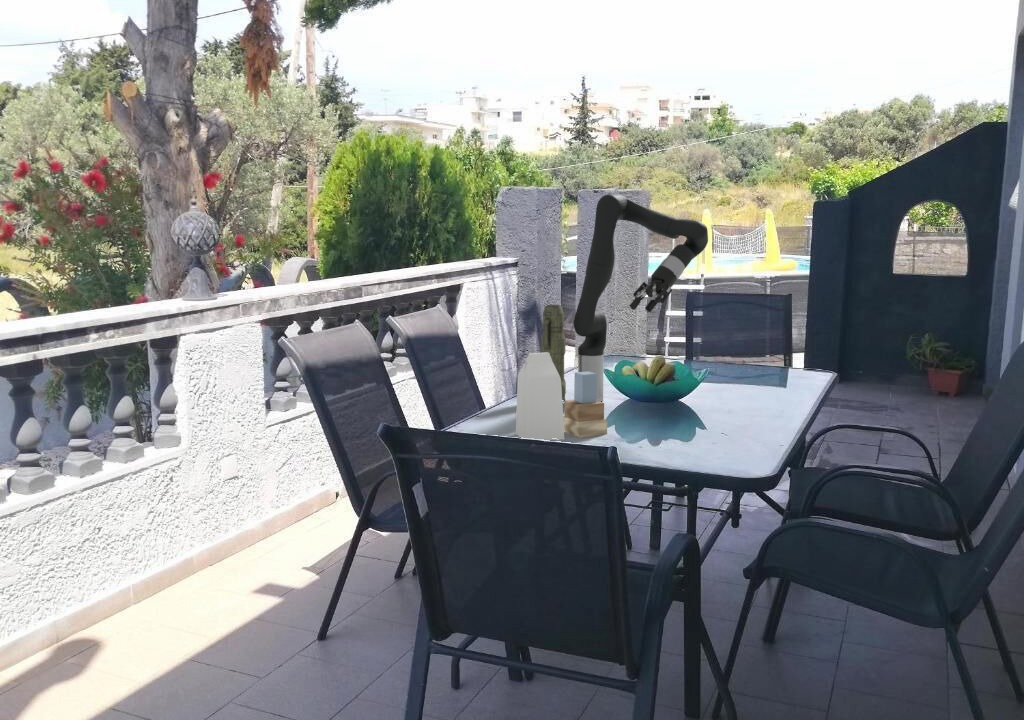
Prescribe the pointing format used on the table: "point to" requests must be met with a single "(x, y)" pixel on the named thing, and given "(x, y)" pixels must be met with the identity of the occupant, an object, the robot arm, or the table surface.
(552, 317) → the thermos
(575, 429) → the tower bottom block
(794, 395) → the table surface
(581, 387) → the slate block
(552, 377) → the milk
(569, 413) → the tower top block
